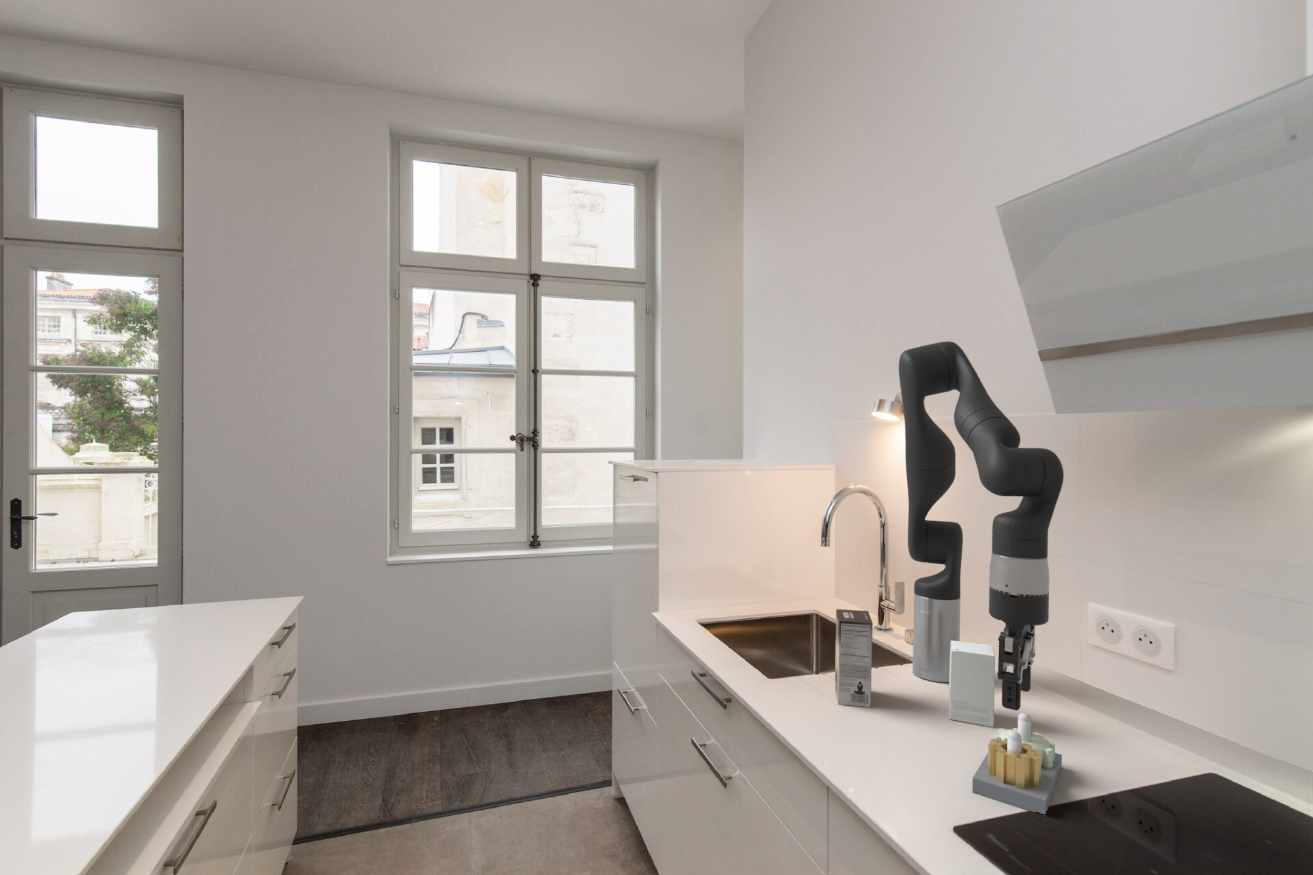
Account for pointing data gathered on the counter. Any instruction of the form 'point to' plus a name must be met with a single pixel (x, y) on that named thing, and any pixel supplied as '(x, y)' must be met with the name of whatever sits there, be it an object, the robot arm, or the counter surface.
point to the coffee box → (853, 657)
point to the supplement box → (972, 683)
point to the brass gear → (1014, 764)
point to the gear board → (1028, 796)
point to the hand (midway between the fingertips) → (1016, 698)
